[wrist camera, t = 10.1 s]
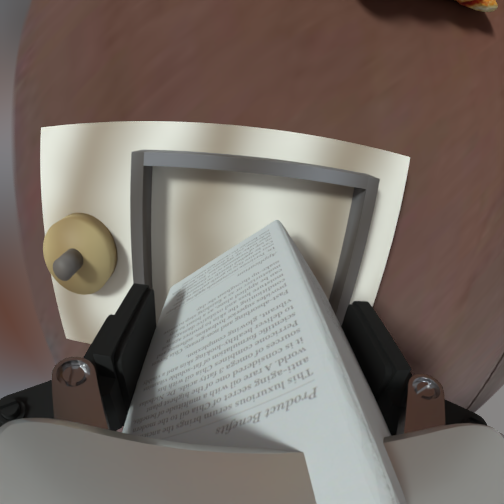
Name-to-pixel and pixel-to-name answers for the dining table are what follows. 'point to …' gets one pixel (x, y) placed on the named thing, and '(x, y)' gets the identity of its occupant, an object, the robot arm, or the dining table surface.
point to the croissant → (480, 4)
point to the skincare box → (265, 372)
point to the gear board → (206, 208)
